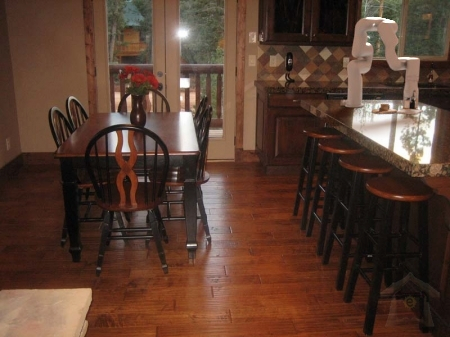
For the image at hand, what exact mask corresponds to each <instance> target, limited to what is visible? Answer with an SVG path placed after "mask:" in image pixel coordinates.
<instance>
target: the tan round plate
mask: <svg viewBox="0 0 450 337" xmlns="http://www.w3.org/2000/svg"><path fill="white" fill-rule="evenodd" d="M390 107H391V106H390V104H389V103H380V107H378V108H375V109H371V113H373V114H378V113H379V115H380V114H381V115H384V114H385V115H387V114H390V115H391V114H397V111H398V110H397V109H393V108H390Z"/></svg>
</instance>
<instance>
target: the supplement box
mask: <svg viewBox="0 0 450 337" xmlns="http://www.w3.org/2000/svg"><path fill="white" fill-rule="evenodd" d="M404 89H405V87H404V88H403V90H404ZM419 93H420V92H419V88H418V92H417V98H416V105H415V108H417V109H418V108H419ZM402 99H403V102H402V109H409V108H405V101H406V97H405V96H404V95H403V98H402Z"/></svg>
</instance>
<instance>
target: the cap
mask: <svg viewBox="0 0 450 337" xmlns="http://www.w3.org/2000/svg"><path fill="white" fill-rule="evenodd" d="M415 105H416V102H415ZM409 107H410V100H407V101H405V108H409Z"/></svg>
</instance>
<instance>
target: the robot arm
mask: <svg viewBox="0 0 450 337" xmlns="http://www.w3.org/2000/svg"><path fill="white" fill-rule="evenodd" d="M354 27H355V28H354V37H353V43H352V49H351V55H352V57H353V58H355V59H352V60H350V61H349V62H348V63H347V66H346V71H347V78H348V79H347V80H348V81H347V99H342V103H343V104H345V105H344V106H345V107H346V108H364V107H365V105H364V104H363V103H362V102H363V83H364V82H363V76H362V74H367V73H368V72H369V71H370V70H371V67H372V62H373V57H374V51H375V50H374V47H373V45H372V44H371V43H369V42H368V33H367V32H378V35H379V37H380V38H381V41H382V43H383V45H384V47H385V50H384V54H385V55H384V56H385V60H386V62H387V64H388V66H389V68H390V69H391V70H393V71H403V70H405V79H404V80H405V83H404V88H405V89H404V88H403V97H404V96H405V97H406V101H407V100H410V107H409V109H413V110H416V109H415V102H416V98H417V92H418V89H419V87H418V83H419V79H420V64H421V60H420V58H419V57H398V55H397V53H396V46H397V45H398V44H399V42H400V40H399V38H398V37H397V34H396V33H397V32H398V29H399V25H398V23H397V22H396V21H395V20H390V19H388V18H387V19H386V18H382V17H378V16H377V17H374V16H371V17H363V18H360V19H359V20H358V21H357V22H356V24H355V26H354Z"/></svg>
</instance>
